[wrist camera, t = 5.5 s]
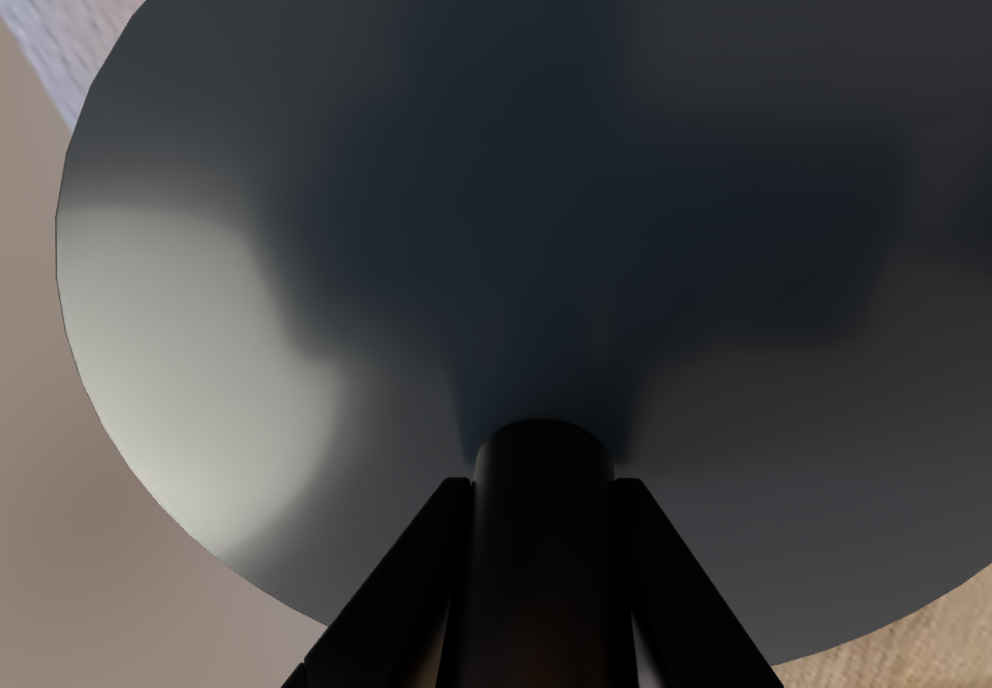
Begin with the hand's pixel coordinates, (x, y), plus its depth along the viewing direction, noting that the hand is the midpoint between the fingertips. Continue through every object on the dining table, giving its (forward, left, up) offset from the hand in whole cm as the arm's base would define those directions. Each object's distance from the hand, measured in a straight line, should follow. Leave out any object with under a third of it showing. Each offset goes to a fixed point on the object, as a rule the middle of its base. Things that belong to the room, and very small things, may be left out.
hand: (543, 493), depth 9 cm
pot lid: (0, 0, -1) cm, 1 cm away
